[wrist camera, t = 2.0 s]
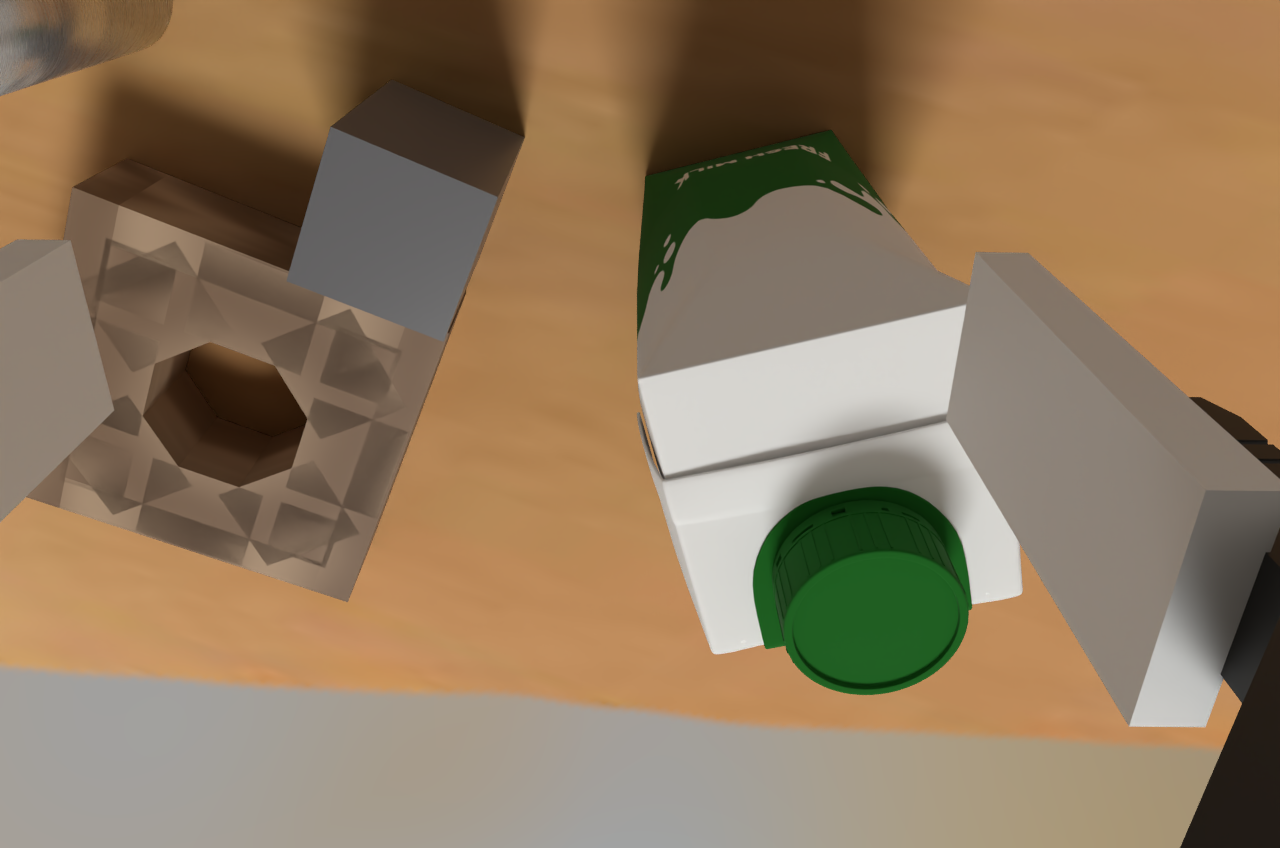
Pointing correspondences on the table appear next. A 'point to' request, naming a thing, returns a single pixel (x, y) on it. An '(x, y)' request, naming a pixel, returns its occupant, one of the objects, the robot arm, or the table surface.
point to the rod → (72, 36)
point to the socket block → (182, 419)
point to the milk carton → (811, 419)
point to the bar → (403, 207)
